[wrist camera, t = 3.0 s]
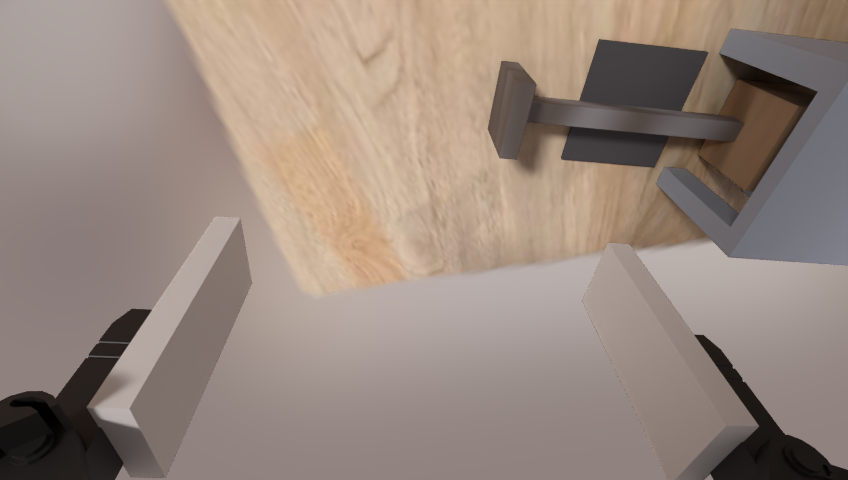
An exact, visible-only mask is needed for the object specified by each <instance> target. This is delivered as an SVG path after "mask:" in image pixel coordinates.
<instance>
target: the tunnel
mask: <svg viewBox="0 0 848 480" xmlns="http://www.w3.org/2000/svg"><path fill="white" fill-rule="evenodd" d="M720 54H723V55H725V56H728V57H731V58H733V59H736V60H738V61H741V62H743V63H746V64H749V65H751V66H754V67H756V68H759V69H761V70H764V71H767V72H769V73H772V74H774V75H777V76H779V77H782V78H785V79H787V80H790V81H792V82H795V83H797V84H800V85H803V86H805V87H808V88H810V89H813V90H815V91H818V93H817V94H816V96H815V97H814V99H813V100H812V102H811V103H810V105H809V106H808V108H807V110H806V111H805V113H804V114H803V116H802V117H801V119H800V120H799V122H798V123H797V125H796V127H795V128H794V130H793V131H792V133H791V134H790V136H789V137H788V139H787V141H786V142H785V144H784V145H783V147H782V148H781V150H780V151H779V153H778V154H777V156H776V158H775V159H774V161H773V162H772V164H771V165H770V167H769V168H768V170H767V171H766V173H765V175H764V176H763V178H762V179H761V181H760V182H759V184H758V185H757V187H756V189H755V190H754V192H752V191H745V190H742V191H743V192H744V193H745V194H747V195H748V196H749V197H750V198H749V199H748V201H747V202H746V204H745V206H744V207H743V209H742V210H741V212H740V213H738V212H737V211H735V210H734V209H733V208H732V207H731V206H730V205H728V204H727V203H726V202H725V201H724V200H723V199H721V198H720V197H719V196H718V195H717V194H715V193H714V192H713V191H712V190H711V189H710V188H708V187H707V186H706V185H705V184H704V183H703V182H701V181H700V180H699V179H698V178H697V177H695V176H694V175H693V174H692V173H691V172H690V171H688V170H687V169H682V168H671V167H664V168H663V170H662V172H661V175H660V177H659V179H658V181H657V183H656V184H657V185H658V186H659V187H660V188H661V189H662V190H663V191H664V192H665V193H666V194H667V195H668V196H669V197H670V198H671V199H672V200H673V201H674V202H675V203H676V204H677V205H678V206H679V207H680V208H681V209H682V211H683V212H684V213H685V214H686V215H687V216H688V217H689V218H690V219H691V220H692V221H693V222H694V223H695V224H696V225H697V226H698V227H699V228H700V229H701V230H702V231H703V232H704V233H705V234H706V235H707V236H708V237H709V238H710V239H711V240H712V241H713V242H714V243H715V244H716V245H717V246H718V247H719V248H720V249H721V250H722V251H723V252H724V253H725V254H726V255H727V256H728V257H732V258H746V259H760V260H775V261H790V262H805V263H819V264H833V265H847V266H848V43H846V42H838V41H829V40H821V39H813V38H805V37H796V36H788V35H780V34H771V33H763V32H755V31H747V30H738V29H731V30H730V32H729V34H728V36H727V39H726V41H725V43H724V45H723V47H722V49H721V51H720Z"/></svg>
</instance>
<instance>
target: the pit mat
mask: <svg viewBox="0 0 848 480" xmlns="http://www.w3.org/2000/svg"><path fill="white" fill-rule="evenodd" d="M707 54H708V52H705V51H696V50H688V49H679V48H670V47H662V46H653V45H644V44H636V43H627V42H618V41H610V40H601V39H599V42H598V45H597V48H596V51H595V54H594V57H593V60H592V63H591V66H590V69H589V73H588V76H587V79H586V82H585V85H584V88H583V91H582V94H581V97H580V100H579V101H585V102H595V103H605V104H615V105H625V106H635V107H645V108H655V109H664V110H674V111H681V109H682V107H683V105H684V103H685V101H686V99H687V97H688V95H689V92H690V90H691V88H692V86H693V84H694V82H695V80H696V78H697V75H698V73H699V71H700V69H701V67H702V65H703V63H704V61H705V58H706V56H707ZM668 137H669V136H668V135H657V134H647V133H636V132H626V131H615V130H605V129H595V128H584V127H574V126H571V128H570V131H569V134H568V138H567V141H566V144H565V147H564V150H563V153H562V156H561V159H567V160H578V161H589V162H601V163H612V164H623V165H635V166H646V167H655V165H656V163H657V160H658V158H659V156H660V154H661V152H662V150H663V148H664V146H665V143H666V141H667V139H668Z"/></svg>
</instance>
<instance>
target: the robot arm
mask: <svg viewBox="0 0 848 480" xmlns="http://www.w3.org/2000/svg"><path fill="white" fill-rule="evenodd" d="M251 284H252V280H251V275H250V269H249V263H248V258H247V252H246V246H245V241H244V236H243V230H242V224H241V219H240V218H231V217H215V218H214V219H213V221H212V222H211V224H210V225H209V227H208V228H207V230H206V231H205V233H204V234H203V236H202V237H201V239H200V240H199V242H198V243H197V244H196V246H195V248H194V249H193V251H192V252H191V253H190V255H189V256H188V258H187V259H186V261H185V262H184V264H183V265H182V267H181V268H180V270H179V271H178V273H177V274H176V276H175V277H174V279H173V280H172V282H171V283H170V284H169V286H168V288H167V289H166V290H165V292H164V293H163V295H162V296H161V298H160V299H159V301H158V302H157V304H156V305H155V307H154V308H153V310H146V309H131V310H130V311H128V312H127V313H126V314H124V315H123V316H121V317H120V318H119V319H117V320H116V321H115V322H113V323H112V324H111V326H110V327H109V328H108V330H107V331H106V332H105V334H104V335H103V336H102V338H101V339H100V340H99V344H96V346H95V347H94V348H93V350H92V351H91V352H90V354H89V357H88V358H86V359H85V360H84V362H83V363H82V364H81V365H80V367H79V368H78V369H77V371H76V372H75V373H74V375H73V376H72V377H71V379H70V380H69V381H68V383H67V384H66V385H65V387H64V388H63V389H62V391H61V392H60V393H59V395H58V396H57V397H56V399H55V398H54V396H53V395H51V394H48V393H46V392H43V391H27V392H23V393H20V394H16V395H12V396H9V397H7V398H5V399H3V400H1V401H0V480H115V478H116V477H117V475H118V473H119V471H120V469H121V467H122V466H124V468H125V469H126V471H127V472H128V474H129V475H130V477H148V478H150V477H151V478H166V476H167V474H168V472H169V470H170V467H171V465H172V463H173V461H174V458H175V456H176V454H177V451H178V449H179V447H180V445H181V442H182V440H183V438H184V435H185V433H186V431H187V429H188V427H189V424H190V422H191V420H192V418H193V415H194V413H195V411H196V408H197V406H198V404H199V402H200V399H201V397H202V395H203V393H204V391H205V388H206V386H207V384H208V381H209V379H210V377H211V375H212V372H213V370H214V368H215V366H216V363H217V361H218V359H219V357H220V354H221V352H222V349H223V347H224V345H225V343H226V341H227V338H228V336H229V334H230V332H231V329H232V327H233V325H234V323H235V320H236V318H237V316H238V314H239V311H240V309H241V307H242V304H243V302H244V300H245V298H246V296H247V293H248V291H249V289H250V287H251ZM582 302H583V304H584V306H585V308H586V310H587V312H588V314H589V316H590V318H591V321H592V322H593V325H594V327H595V329H596V331H597V333H598V335H599V337H600V340H601V342H602V344H603V346H604V348H605V350H606V352H607V354H608V356H609V358H610V361H611V363H612V364H613V367H614V369H615V371H616V373H617V375H618V377H619V379H620V382H621V384H622V386H623V388H624V390H625V392H626V394H627V396H628V398H629V401H630V403H631V405H632V407H633V409H634V411H635V413H636V415H637V417H638V419H639V421H640V424H641V426H642V428H643V430H644V432H645V434H646V436H647V438H648V440H649V443H650V445H651V447H652V449H653V451H654V453H655V455H656V457H657V459H658V461H659V463H660V466H661V468H662V470H663V472H664V474H665V476H666V478H667V480H704V479H705V478H707V477H708V476H709V475H710V474H711V476H712V477H713V479H714V480H848V470H846V469H843V468H840V467H837V466H833V465H831V464H830V463H829V462H828V460H827V459H826V458H825V457H824V456H823V455H822V454H820V453H819V452H818V451H817V450H816V449H815V448H813V447H812V446H810V445H809V444H807V443H805V442H804V441H802V440H800V439H798V438H795V437H793V436H790V435H785V434H784V433H783V432H782V430H781V429H780V428H779V426H778V425H777V424H776V422H775V421H774V420H773V419H772V417H771V416H770V414H769V413H768V412H767V410H766V409H765V408H764V406H763V405H762V404H761V402H760V401H759V400H758V399H757V398H756V396H755V395H754V393H753V392H752V391H751V389H750V388H749V387H748V385H747V384H746V383H745V382H743V381H742V377H741V376H740V375H739V373H738V372H737V371H736V370H735V369H733V367H732V366H733V365H732V364H731V363H730V362H729V360H728V359H727V357H726V356H725V355H724V353H723V352H722V351H721V349H719V348H718V347H717V346H716V345H715V344H713V343H712V342H711V341H710V340H709V339H707V338H706V337H705V336H704V335H694V334H693V333H692V331H691V330H690V329H689V327H688V326H687V325H686V323H685V322H684V320H683V319H682V317H681V316H680V315H679V313H678V312H677V310H676V309H675V308H674V306H673V305H672V303H671V302H670V301H669V299H668V298H667V296H666V295H665V294H664V292H663V291H662V289H661V288H660V287H659V285H658V284H657V282H656V281H655V280H654V278H653V277H652V275H651V274H650V273H649V271H648V270H647V268H646V267H645V266H644V264H643V263H642V261H641V260H640V259H639V257H638V256H637V254H636V253H635V252H634V250H633V249H632V247H631V246H630V245H629V244H619V243H608V244H607V246H606V248H605V251H604V253H603V255H602V257H601V260H600V262H599V264H598V266H597V269H596V271H595V273H594V275H593V278H592V280H591V282H590V284H589V286H588V289H587V291H586V293H585V295H584V298H583V300H582Z"/></svg>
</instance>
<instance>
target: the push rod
mask: <svg viewBox="0 0 848 480" xmlns="http://www.w3.org/2000/svg"><path fill="white" fill-rule="evenodd" d="M535 88H536V83H535V82H534V81H533V80H532V78H531V77H530V76H529V75H528V74H527V72H526V71H525V70H524V69H523V68H522V67H521V65H520V64H519V63H516V62H507V61H502V62H501V67H500V71H499V76H498V81H497V86H496V91H495V96H494V101H493V106H492V111H491V116H490V121H489V125H488V131H489V133H490V136H491V138H492V141H493V143H494V146H495V148H496V150H497V153H498V155H499V158H503V159H515V160H517V158H518V154H519V150H520V146H521V142H522V138H523V135H524V131H525V127H526V123H527V122H532V123H542V124H553V125H563V126H574V127H584V128H595V129H605V130H615V131H626V132H636V133H647V134H657V135H668V136H678V137H689V138H699V139H706V140H705V142H704V144H703V146H702V147H701V149H700V151H699V153H698V155H699V156H700V157H702V158H703V159H704V160H706V161H707V162H708V163H709V164H711V165H712V166H713V167H715V168H716V169H717V170H719V171H720V172H721V173H722V174H724V175H725V176H726V177H728V178H729V179H730V180H732V181H733V182H734V183H736V184H737V185H738V186H739V187H741V188H742V189H743V190H745V191H752V192H754V190H755V189H756V187H757V185H758V184H759V182H760V181H761V179H762V178H763V176H764V175H765V173H766V171H767V170H768V168H769V167H770V165H771V164H772V162H773V161H774V159H775V158H776V156H777V154H778V153H779V151H780V150H781V148H782V147H783V145H784V144H785V142H786V141H787V139H788V137H789V136H790V134H791V133H792V131H793V130H794V128H795V127H796V125H797V123H798V122H799V120H800V119H801V117H802V116H803V114H804V113H805V111H806V110H807V108H808V106H809V105H810V103H811V102H812V100H813V99H814V97H815V96H816V94H817V93H818V91H815V90H813V89H810V88H808V87H805V86H796V85H787V84H778V83H769V82H760V81H751V80H741V79H737V81H736V83H735V85H734V87H733V89H732V90H731V92H730V94H729V96H728V98H727V100H726V102H725V104H724V106H723V108H722V109H721V111H720V113H719V115H714V114H704V113H694V112H684V111H674V110H664V109H655V108H645V107H635V106H625V105H615V104H605V103H595V102H585V101H575V100H566V99H556V98H546V97H536V96H534V92H535Z"/></svg>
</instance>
